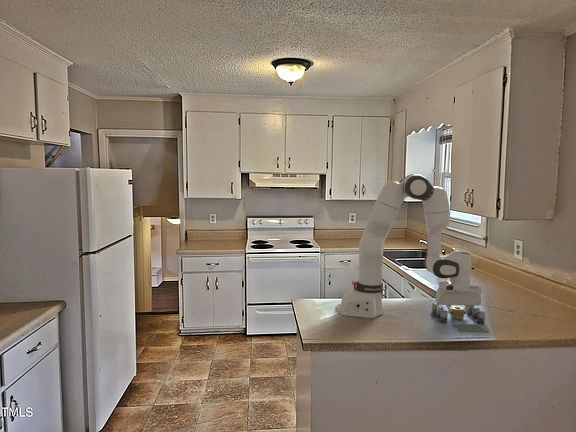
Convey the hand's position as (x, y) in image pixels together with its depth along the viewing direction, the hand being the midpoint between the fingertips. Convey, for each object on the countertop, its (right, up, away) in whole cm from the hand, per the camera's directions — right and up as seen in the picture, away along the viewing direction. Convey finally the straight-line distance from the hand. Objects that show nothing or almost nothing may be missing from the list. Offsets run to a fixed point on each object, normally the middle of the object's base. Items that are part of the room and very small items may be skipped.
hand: (457, 313), depth 183 cm
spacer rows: (0, -2, 0) cm, 2 cm away
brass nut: (0, -2, 0) cm, 2 cm away
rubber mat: (0, -3, -12) cm, 12 cm away
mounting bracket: (+13, +2, +41) cm, 43 cm away
